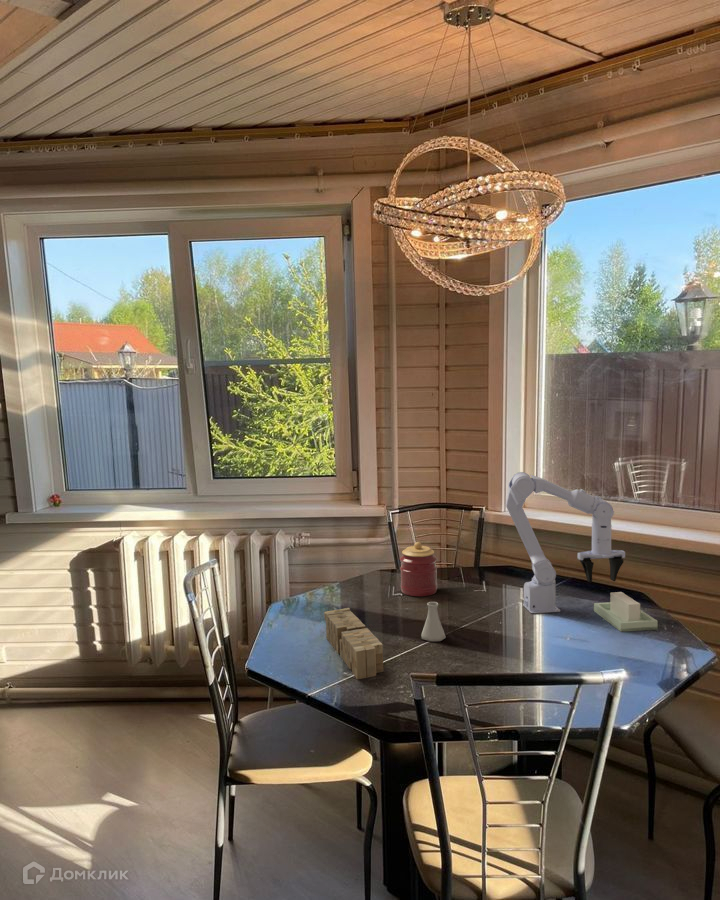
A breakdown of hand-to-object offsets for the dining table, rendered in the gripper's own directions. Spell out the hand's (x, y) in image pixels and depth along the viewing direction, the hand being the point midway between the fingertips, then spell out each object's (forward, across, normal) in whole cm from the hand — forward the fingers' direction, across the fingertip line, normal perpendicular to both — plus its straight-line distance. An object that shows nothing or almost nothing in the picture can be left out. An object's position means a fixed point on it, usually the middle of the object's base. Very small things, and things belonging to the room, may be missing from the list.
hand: (601, 580), depth 197 cm
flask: (+10, -56, -13) cm, 58 cm away
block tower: (+10, -80, -21) cm, 83 cm away
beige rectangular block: (+9, +3, -9) cm, 13 cm away
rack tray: (+9, +3, -9) cm, 13 cm away
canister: (+10, -53, +28) cm, 61 cm away
